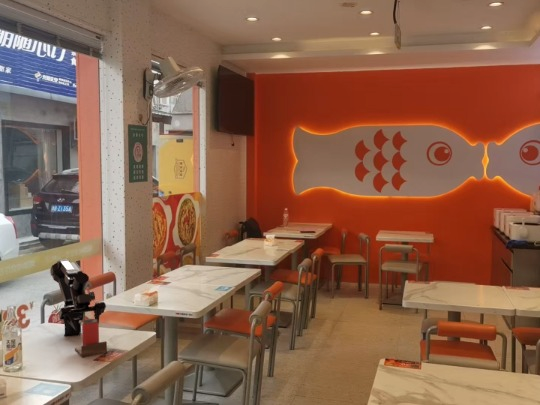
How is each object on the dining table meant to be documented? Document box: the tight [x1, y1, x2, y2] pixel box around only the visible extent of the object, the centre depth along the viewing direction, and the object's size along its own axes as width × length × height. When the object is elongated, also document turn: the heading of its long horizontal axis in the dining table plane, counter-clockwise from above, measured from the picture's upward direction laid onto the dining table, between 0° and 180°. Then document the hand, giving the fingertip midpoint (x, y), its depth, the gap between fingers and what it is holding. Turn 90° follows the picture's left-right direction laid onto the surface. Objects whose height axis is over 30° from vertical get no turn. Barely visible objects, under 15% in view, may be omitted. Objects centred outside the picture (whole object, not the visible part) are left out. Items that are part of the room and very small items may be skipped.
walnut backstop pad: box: [74, 340, 108, 358], centre depth 230 cm, size 11×10×4 cm
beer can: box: [81, 318, 100, 346], centre depth 229 cm, size 7×7×12 cm
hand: (87, 327), depth 233 cm, fingers open, 9 cm apart
